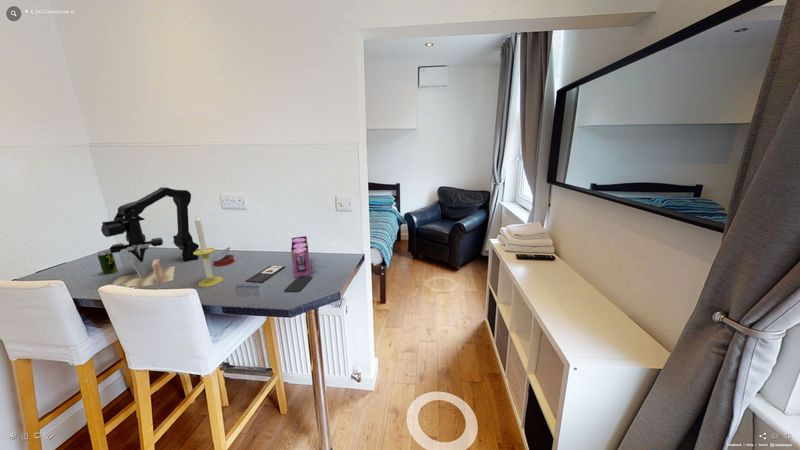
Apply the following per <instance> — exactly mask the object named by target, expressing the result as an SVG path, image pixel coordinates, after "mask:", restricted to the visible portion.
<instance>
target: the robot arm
mask: <svg viewBox="0 0 800 450" xmlns="http://www.w3.org/2000/svg"><path fill="white" fill-rule="evenodd" d="M166 197H170V198H172V202H173V203H174V205H175V206H176V217H177V218H176V219H177V221H176V222H177V234H175V235H173V236H172V237H173V242H172V243H173V244H174V246H175V247H177V248H178V249H179V250H181V257H182V261H184V263H186V261H187V262H192V261H197V259H198V260H199V255H194V254H193V252H195V251H197V250H199V247H200V244H198V243H196V242H195V241H193V236H192V235H191V233H190V225H189V206H190V203H191V200H192V199H191V198H192V193H191V192H190V191H189V190H187V189H173V188H170V187H159V188H158V189H156V190H155V191H152V192H151V193H149V194H147V195H145V196H144V197H141V198H140V199H138V200H135V201H132V202H129V203H126V204H125V203H124V204H123V205H120V206H118V208H117V213H116V214H115V216H114V217H113V220H110V221H102V222H101V223H102V225H101V233H102V235H103V236H105V238H109V237H114V236H119V235H122V234H125V240H126V242H128V244H124V243H115V244H112V245H111V246H110V247H109V250H110V252H111V253H113V254H114V253H115V254H116V253H120V252H121V251H122V250H127V253H131V254H133V255H134V256H135V257H137V258H138V259H139V260H140V261H141V262H143V263H144V258H145V253H146V250H148V249H149V247H150V246H153V247H159V246H163V244H164V241H163V238H162V237H156V238H151V240H149V241H147V239H146V234H144V233H143V230H142V226H141V222H140V221H145V217H141V216H140V215H141V214H142V213H143V212H144V211H145V209H146V208H147V207H149V206H152V205H153V204H155V203H156V202H158V201H160V200H161V199H163V198H166Z"/></svg>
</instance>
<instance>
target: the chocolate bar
mask: <svg viewBox="0 0 800 450" xmlns="http://www.w3.org/2000/svg"><path fill="white" fill-rule="evenodd" d="M285 268H286V266H279V265H269V266H267V267H265V268H264V269H262V270H261V271H259V272H257V273H256V274H254V275H252V276H251V277H248V278H247V279H245V281H244V282H246V283H255V284H256V283H257V284H263V283H265V282H266V281H268V280H269V279H271V278H273V276H275V275H277V274H278V273H281V272H282V271H283V270H284V269H285Z"/></svg>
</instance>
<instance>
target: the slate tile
mask: <svg viewBox="0 0 800 450" xmlns="http://www.w3.org/2000/svg"><path fill="white" fill-rule="evenodd" d="M131 264H132V266H133V267H134V269H135V271H136V272H137V273H136V274H139V276H140V277H141V278H144V277H146V275H147V273H148V271H149V270H148V268H147V267H146V266H145V264H144V261H143V262H141V261H140V260H139V259H138V258H137V257H136V256H135V257H133V259H132V260H131Z"/></svg>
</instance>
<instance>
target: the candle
mask: <svg viewBox="0 0 800 450" xmlns="http://www.w3.org/2000/svg"><path fill="white" fill-rule="evenodd" d="M194 223H195V224H194V225H195V228H196V234H197V238H198V241H199V247H200V249H197V251H195V252H193V254H194V255H198V256H201V259H202V264H203V267H204V272H205V276H206V278H204V279H203V280H200V281H199V282H198V286H199V288H200V287H202V288H205V287H212V286H215V285H218V284H220V283H222V282H223V281H224V278H223V277H222V276H213V270H212V265H211V261H210V257H209V254H212V253H214V252H216V248H215V247H214V248H213V247H207V245H206V239H205V234H204V230H203V225H202V221H201V219H200V218H199V217H198V215H197V214H196V216H195V219H194Z"/></svg>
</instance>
